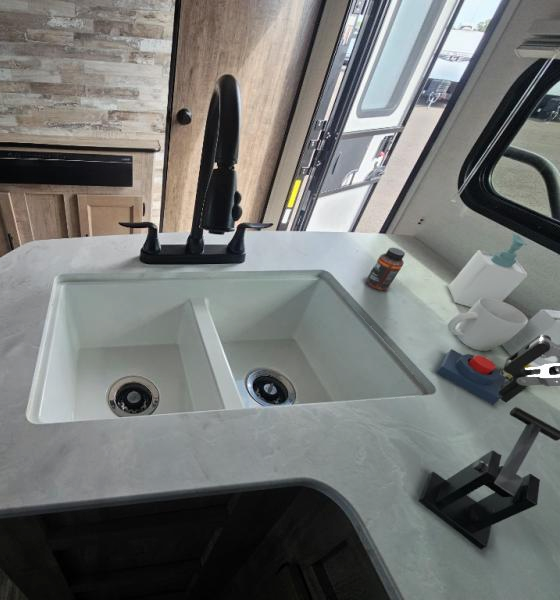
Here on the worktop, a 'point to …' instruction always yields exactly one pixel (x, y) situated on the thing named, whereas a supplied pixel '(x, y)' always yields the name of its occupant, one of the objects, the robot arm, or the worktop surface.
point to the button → (482, 364)
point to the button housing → (471, 376)
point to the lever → (520, 453)
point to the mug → (488, 324)
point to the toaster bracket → (468, 513)
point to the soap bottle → (489, 275)
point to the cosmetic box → (536, 330)
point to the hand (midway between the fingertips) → (541, 419)
